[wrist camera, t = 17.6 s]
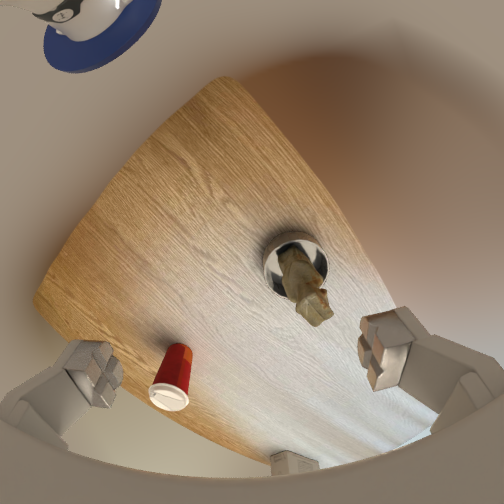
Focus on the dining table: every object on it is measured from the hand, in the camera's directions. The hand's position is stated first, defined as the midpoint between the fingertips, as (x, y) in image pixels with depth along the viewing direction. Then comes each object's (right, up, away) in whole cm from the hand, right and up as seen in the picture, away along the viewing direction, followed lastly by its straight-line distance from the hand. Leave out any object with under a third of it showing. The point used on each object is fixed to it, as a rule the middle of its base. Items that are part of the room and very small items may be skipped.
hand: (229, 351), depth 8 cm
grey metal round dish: (+8, +2, +39) cm, 40 cm away
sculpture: (+8, +1, +39) cm, 40 cm away
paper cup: (-15, -19, +47) cm, 53 cm away
